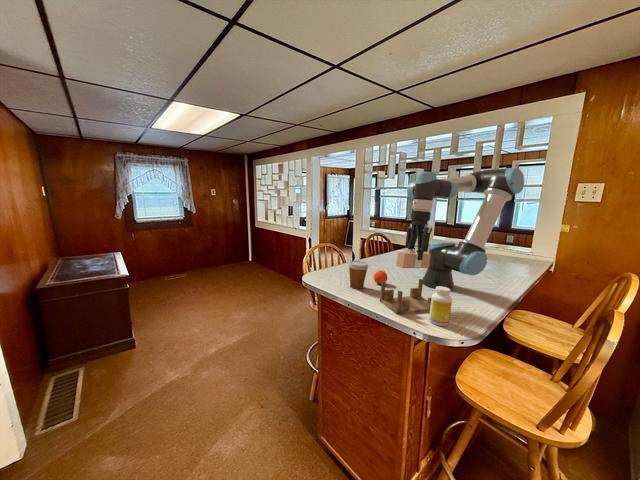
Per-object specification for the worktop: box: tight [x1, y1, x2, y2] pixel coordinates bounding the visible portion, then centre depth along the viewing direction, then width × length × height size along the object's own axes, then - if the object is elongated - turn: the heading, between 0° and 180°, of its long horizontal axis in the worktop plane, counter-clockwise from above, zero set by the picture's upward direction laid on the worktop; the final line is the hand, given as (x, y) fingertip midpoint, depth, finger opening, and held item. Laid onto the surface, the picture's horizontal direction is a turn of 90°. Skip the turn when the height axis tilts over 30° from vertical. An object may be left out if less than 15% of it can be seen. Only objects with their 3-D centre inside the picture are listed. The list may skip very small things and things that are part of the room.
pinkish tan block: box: [395, 251, 431, 269], centre depth 110 cm, size 14×4×6 cm, turn 113°
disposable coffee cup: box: [347, 260, 369, 290], centre depth 127 cm, size 10×10×12 cm
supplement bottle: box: [428, 286, 453, 327], centre depth 93 cm, size 7×7×13 cm
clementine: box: [373, 270, 388, 285], centre depth 134 cm, size 8×7×7 cm
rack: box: [379, 278, 432, 316], centre depth 107 cm, size 20×13×9 cm, turn 107°
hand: (413, 265), depth 111 cm, fingers closed on pinkish tan block, 4 cm apart
